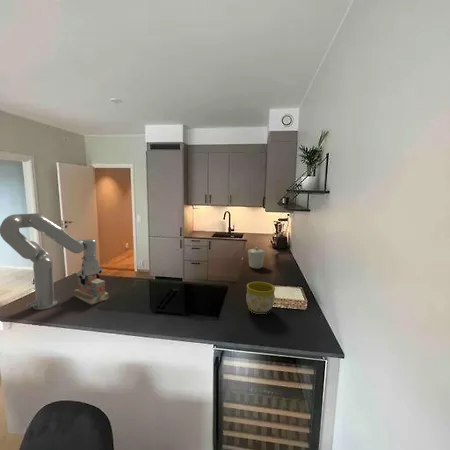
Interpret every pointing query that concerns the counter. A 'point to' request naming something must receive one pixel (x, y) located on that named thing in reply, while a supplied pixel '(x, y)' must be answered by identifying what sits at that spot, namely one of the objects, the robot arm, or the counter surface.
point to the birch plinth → (90, 297)
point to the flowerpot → (260, 297)
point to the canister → (256, 258)
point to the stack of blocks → (92, 285)
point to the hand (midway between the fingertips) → (90, 282)
